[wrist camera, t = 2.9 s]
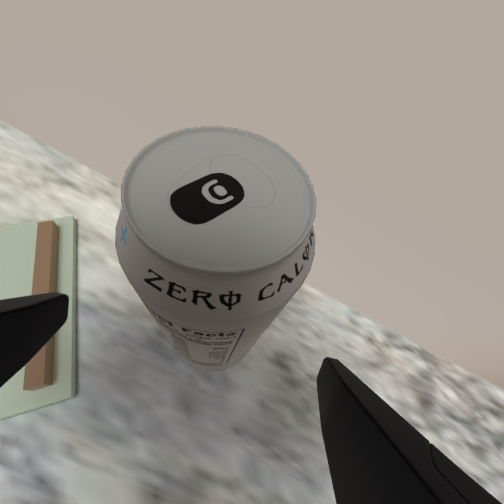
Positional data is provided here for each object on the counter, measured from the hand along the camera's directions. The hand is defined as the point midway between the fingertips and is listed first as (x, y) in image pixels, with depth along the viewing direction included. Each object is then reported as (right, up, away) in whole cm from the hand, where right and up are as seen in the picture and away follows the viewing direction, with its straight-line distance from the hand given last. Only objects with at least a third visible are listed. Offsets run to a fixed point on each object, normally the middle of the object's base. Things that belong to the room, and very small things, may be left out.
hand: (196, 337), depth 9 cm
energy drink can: (-1, -3, +11) cm, 11 cm away
